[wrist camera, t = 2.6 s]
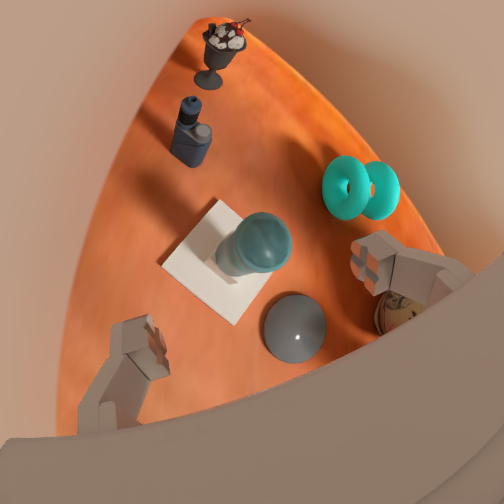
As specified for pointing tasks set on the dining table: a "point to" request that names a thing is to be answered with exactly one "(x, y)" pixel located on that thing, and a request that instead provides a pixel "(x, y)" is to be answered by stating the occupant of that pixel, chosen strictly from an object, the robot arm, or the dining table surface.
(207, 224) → the white cube on base
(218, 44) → the sundae
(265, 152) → the dining table surface
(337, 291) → the dining table surface
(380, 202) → the donuts
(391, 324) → the ceramic jug
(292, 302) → the dish
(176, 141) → the vaping device
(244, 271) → the teal domed cylinder
